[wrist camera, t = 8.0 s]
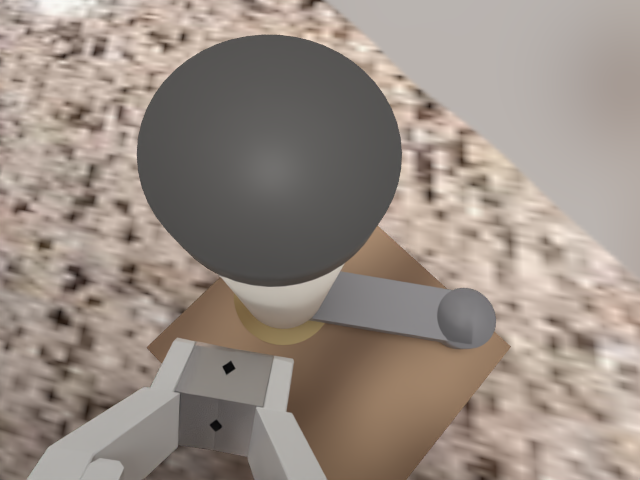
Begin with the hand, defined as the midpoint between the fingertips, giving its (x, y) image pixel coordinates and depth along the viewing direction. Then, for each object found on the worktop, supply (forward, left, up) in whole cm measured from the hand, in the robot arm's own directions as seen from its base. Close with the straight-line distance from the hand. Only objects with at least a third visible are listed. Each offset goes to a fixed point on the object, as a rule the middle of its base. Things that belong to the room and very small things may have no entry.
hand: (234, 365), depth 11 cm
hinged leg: (+2, +5, -8) cm, 10 cm away
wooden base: (+2, +3, -11) cm, 12 cm away
